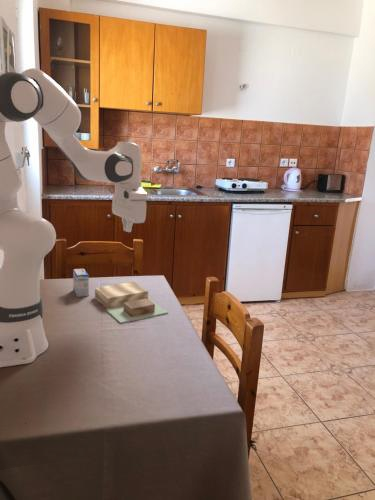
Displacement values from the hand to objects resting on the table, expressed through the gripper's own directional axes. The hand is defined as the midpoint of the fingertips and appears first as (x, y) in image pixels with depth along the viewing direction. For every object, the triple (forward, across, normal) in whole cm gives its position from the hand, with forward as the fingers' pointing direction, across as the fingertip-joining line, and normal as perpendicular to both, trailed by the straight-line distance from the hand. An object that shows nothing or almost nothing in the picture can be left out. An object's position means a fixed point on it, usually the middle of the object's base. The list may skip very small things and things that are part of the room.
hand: (127, 231), depth 142 cm
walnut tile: (+24, +8, +1) cm, 25 cm away
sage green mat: (+27, +7, +1) cm, 28 cm away
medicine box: (+28, -19, -11) cm, 35 cm away
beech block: (+27, -6, +1) cm, 28 cm away
